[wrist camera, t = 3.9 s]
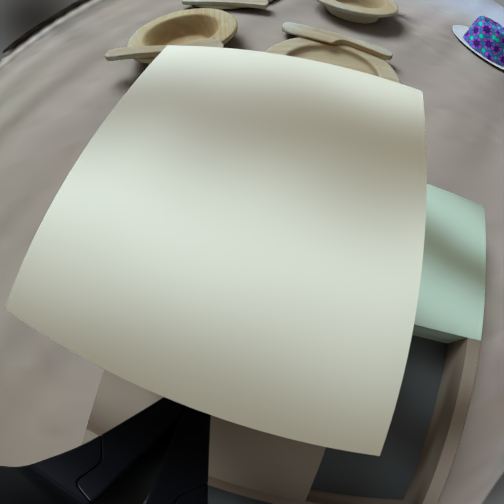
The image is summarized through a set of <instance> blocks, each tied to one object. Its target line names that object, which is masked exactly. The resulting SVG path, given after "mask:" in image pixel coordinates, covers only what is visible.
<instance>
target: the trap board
mask: <svg viewBox="0 0 504 504" xmlns="http://www.w3.org/2000/svg"><path fill="white" fill-rule="evenodd" d="M485 283H486V234H485V215H484V206H483V205H480V204H478V203H475V202H473V201H471V200H468V199H466V198H463V197H461V196H458V195H456V194H453V193H450V192H448V191H445V190H443V189H440V188H437V187H435V186H432V185H429V184H427V197H426V223H425V238H424V251H423V262H422V271H421V280H420V288H419V295H418V302H417V309H416V315H415V321H414V327H413V332H412V338H411V343H410V348H409V353H408V357H407V362H406V367H405V371H404V375H403V379H402V383H401V387H400V391H399V395H398V399H397V402H396V406H395V410H394V413H393V416H392V420H391V423H390V426H389V430H388V433H387V436H386V439H385V442H384V445H383V448H382V451H381V454H380V456H376V455H369V454H362V453H356V452H350V451H344V450H339V449H333V448H328V447H323V446H319V445H314V444H309V443H305V442H301V441H297V440H292V439H288V438H285V437H281V436H277V435H273V434H270V433H266V432H262V431H259V430H256V429H252V428H249V427H246V426H242V425H239V424H236V423H233V422H230V421H227V420H224V419H221V418H218V417H215V416H212V415H211V424H210V446H209V473H208V504H437V502H438V500H439V497H440V495H441V493H442V490H443V488H444V485H445V482H446V480H447V477H448V474H449V472H450V469H451V466H452V463H453V460H454V457H455V454H456V451H457V448H458V445H459V442H460V438H461V435H462V431H463V428H464V424H465V420H466V416H467V412H468V408H469V404H470V400H471V395H472V390H473V385H474V380H475V375H476V369H477V363H478V357H479V350H480V343H481V335H482V326H483V315H484V302H485ZM161 398H163V396H161V395H158V394H156V393H154V392H151V391H149V390H147V389H145V388H142V387H140V386H138V385H136V384H134V383H131V382H129V381H127V380H125V379H123V378H121V377H119V376H117V375H115V374H113V373H111V372H109V371H107V370H104V373H103V376H102V379H101V382H100V385H99V389H98V392H97V395H96V398H95V401H94V405H93V408H92V411H91V415H90V418H89V421H88V425H87V428H86V432H85V436H84V439H83V443H82V445H83V444H85V443H87V442H89V441H91V440H92V439H94V438H96V437H98V436H99V435H100V436H101V435H102V434H103V433H105V432H107V431H108V430H110V429H112V428H113V427H115V426H117V425H119V424H120V423H122V422H124V421H125V420H127V419H129V418H130V417H132V416H134V415H135V414H137V413H139V412H140V411H142V410H144V409H145V408H147V407H148V406H150V405H152V404H153V403H155V402H157V401H158V400H160V399H161ZM148 497H149V495H148ZM148 497H147V498H146V500H145V501H144V503H143V504H146V502H147V499H148Z"/></svg>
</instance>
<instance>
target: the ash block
mask: <svg viewBox="0 0 504 504" xmlns="http://www.w3.org/2000/svg"><path fill="white" fill-rule="evenodd" d="M426 197H427V157H426V132H425V117H424V105H423V94H422V91H420V90H417V89H414V88H411V87H409V86H406V85H403V84H400V83H397V82H394V81H391V80H387V79H384V78H381V77H378V76H374V75H371V74H367V73H364V72H360V71H356V70H352V69H349V68H345V67H341V66H336V65H332V64H328V63H323V62H318V61H314V60H309V59H303V58H298V57H292V56H287V55H280V54H274V53H267V52H259V51H251V50H242V49H232V48H220V47H205V46H176V45H167V46H166V47H165V48H164V49H163V50H162V52H161V53H160V54H159V55H158V56H157V57H156V58H155V59H154V60H153V61H152V62H151V64H150V65H149V66H148V67H147V68H146V69H145V70H144V72H143V73H142V74H141V75H140V76H139V77H138V79H137V80H136V81H135V82H134V83H133V85H132V86H131V87H130V88H129V89H128V91H127V92H126V93H125V94H124V96H123V97H122V98H121V99H120V101H119V102H118V103H117V105H116V106H115V107H114V108H113V110H112V111H111V112H110V114H109V115H108V116H107V118H106V119H105V121H104V122H103V123H102V125H101V126H100V127H99V129H98V130H97V132H96V133H95V135H94V136H93V137H92V139H91V140H90V142H89V143H88V145H87V146H86V148H85V149H84V151H83V152H82V154H81V155H80V157H79V158H78V160H77V162H76V163H75V165H74V166H73V168H72V170H71V171H70V173H69V174H68V176H67V178H66V179H65V181H64V183H63V185H62V186H61V188H60V190H59V191H58V193H57V195H56V197H55V198H54V200H53V202H52V204H51V206H50V208H49V209H48V211H47V213H46V215H45V217H44V219H43V221H42V223H41V225H40V227H39V229H38V231H37V233H36V235H35V237H34V239H33V241H32V243H31V245H30V247H29V250H28V252H27V254H26V256H25V258H24V261H23V263H22V265H21V268H20V270H19V272H18V275H17V277H16V280H15V282H14V285H13V287H12V290H11V292H10V295H9V298H8V300H7V303H6V306H5V308H4V309H6V310H7V311H8V312H10V313H11V314H13V315H14V316H16V317H17V318H19V319H20V320H21V321H23V322H24V323H26V324H27V325H29V326H31V327H32V328H34V329H35V330H37V331H38V332H40V333H41V334H43V335H45V336H46V337H48V338H50V339H51V340H53V341H54V342H56V343H58V344H59V345H61V346H63V347H65V348H66V349H68V350H70V351H72V352H73V353H75V354H77V355H79V356H80V357H82V358H84V359H86V360H88V361H90V362H91V363H93V364H95V365H97V366H99V367H101V368H103V369H105V370H107V371H109V372H111V373H113V374H115V375H117V376H119V377H121V378H123V379H125V380H127V381H129V382H131V383H134V384H136V385H138V386H140V387H142V388H145V389H147V390H149V391H151V392H154V393H156V394H158V395H161V396H163V397H165V398H168V399H170V400H173V401H175V402H178V403H180V404H183V405H185V406H188V407H190V408H193V409H196V410H198V411H201V412H204V413H207V414H209V415H212V416H215V417H218V418H221V419H224V420H227V421H230V422H233V423H236V424H239V425H242V426H246V427H249V428H252V429H256V430H259V431H262V432H266V433H270V434H273V435H277V436H281V437H285V438H288V439H292V440H297V441H301V442H305V443H309V444H314V445H319V446H323V447H328V448H333V449H339V450H344V451H350V452H356V453H362V454H369V455H376V456H380V454H381V451H382V448H383V445H384V442H385V439H386V436H387V433H388V430H389V426H390V423H391V420H392V416H393V413H394V410H395V406H396V402H397V399H398V395H399V391H400V387H401V383H402V379H403V375H404V371H405V367H406V362H407V357H408V353H409V348H410V343H411V338H412V332H413V327H414V321H415V315H416V309H417V302H418V295H419V288H420V280H421V271H422V262H423V251H424V238H425V223H426Z"/></svg>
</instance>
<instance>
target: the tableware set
mask: <svg viewBox="0 0 504 504" xmlns="http://www.w3.org/2000/svg"><path fill="white" fill-rule="evenodd" d="M271 1H273V0H182V3H183V4H185V5H194V6H196V7H201V8H197V9H188V10H182V11H177V12H174V13H170V14H167V15H164V16H162V17H159V18H157V19H155V20H153V21H151V22H149V23H147V24H146V25H144V26H143V27H141V28H140V29H138V30H137V31H136V32H135V33H134V34H133V35H132V37H131V38H130V40H129V42H128V45H127V47H122V48H115V49H112V50H110V51H108V52H107V53H106V54H105V57H106V59H107V60H108V61H115V60H123V59H134V60H136V61H139V62H142V63H148V64H151V62H152V61H153V60H154V59H155V58H156V57H157V56H158V55H159V54H160V53H161V52H162V50H163V49H164V48H165V47H166V46H167V45H176V46H205V47H220V48H224V44H226V43H227V42H228V41H229V40H231V39H232V38H233V36H234V35H235V34H236V32H237V21H236V19H235V17H234V16H232V15H231V14H229V13H227V12H225V11H222V10H218V9H238V8H246V7H251V8H262V9H266V8H267V7H268V6H269V2H271ZM317 1H318V2H320V3H321V4H323V5H325V6H326V8H327V10H328V11H329V12H330V13H331V14H333V15H334V16H336V17H338V18H341V19H344V20H347V21H351V22H356V23H367V24H368V23H374V22H376V21H377V20H378V19H379V18H380V17H390V16H393V15H395V14H396V13H397V12H398V6H397V4H396V3H395V2H394V1H393V0H317ZM282 31H283V32H285V33H288V34H292V35H295V36H298V38H292V39H288V40H285V41H282V42H280V43H278V44H276V45H274V46H272V47H271V48H269V49H268V50H267V51H266V52H267V53H274V54H280V55H287V56H292V57H298V58H303V59H309V60H314V61H318V62H323V63H328V64H332V65H336V66H341V67H345V68H349V69H352V70H356V71H360V72H364V73H367V74H371V75H374V76H378V77H381V78H384V79H387V80H391V81H394V82H397V83H400V80H399V78H398V76H397V74H396V73H395V71H394V70H393V68H392V67H391V66H390V65H389V64H388V63H387V62H386V61H385V60H390V59H392V55H393V54H392V52H390V51H389V50H387V49H384V48H382V47H379V46H376V45H373V44H371V43H368V42H365V41H362V40H358V39H355V38H352V37H349V36H346V35H342V34H339V33H335V32H332V31H328V30H324V29H320V28H315V27H311V26H307V25H302V24H297V23H292V22H285V23H284V24H282ZM400 84H401V83H400Z"/></svg>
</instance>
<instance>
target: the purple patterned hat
mask: <svg viewBox="0 0 504 504" xmlns="http://www.w3.org/2000/svg"><path fill="white" fill-rule="evenodd" d="M453 31H454V33H455V35H456V36H457V37H458V38H459V39H460V40H461V41H462V42H463V43H464V44H465V45H466V46H467V47H469V48H470V49H471V50H472V51H474V52H475V53H476V54H478V55H479V56H481V57H482V58H483V59H485V60H487V61H488V62H490V63H492V64H493V65H495V66H497V67H499V68H501V69H503V70H504V67H503V66H504V28H503V27H502V26H501V25H500V24H498V23H497V22H494V21H493V20H491V19H490V18H486V17H484V16H480V17H478V18H477V19H476V21H475V22H474V23H473V24H472V26H471V27H470V28H469V27H466V26H461V25H455V26H453ZM463 34H464V36H463ZM463 38H464V39H463ZM465 41H466V42H468V43H469V45H468V44H467V43H466V42H465ZM472 48H473V49H472ZM476 51H477V52H479V53H481V54H482V55H483V56H484V57H483V56H482V55H480V54H479V53H477V52H476ZM489 60H490V61H489ZM491 61H492V62H491ZM493 62H496V63H497V64H498V65H497V64H495V63H493ZM500 65H501V66H500Z"/></svg>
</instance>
